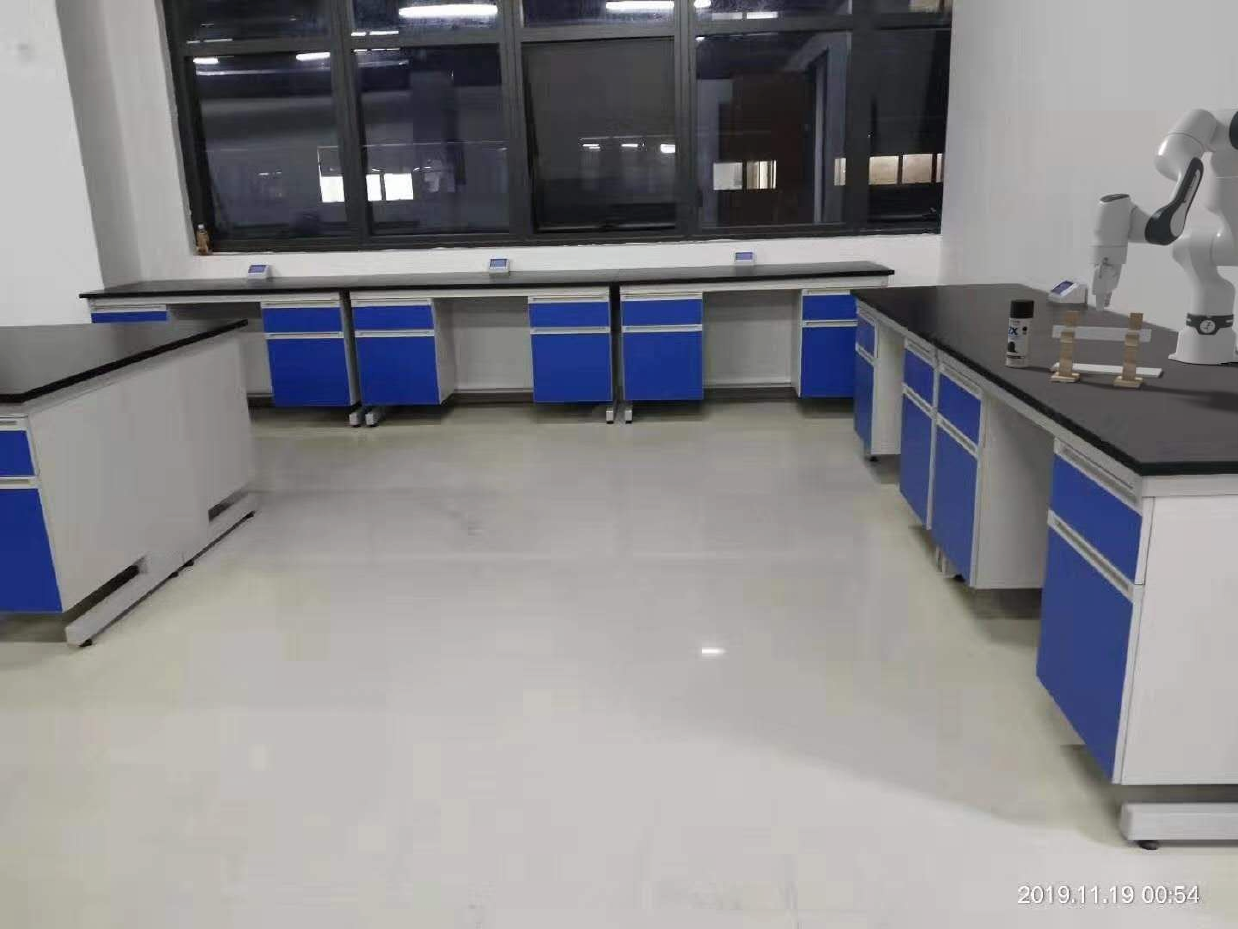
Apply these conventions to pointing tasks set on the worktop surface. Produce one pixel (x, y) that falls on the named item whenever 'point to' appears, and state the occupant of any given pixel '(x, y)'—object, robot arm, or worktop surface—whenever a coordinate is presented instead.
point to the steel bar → (1102, 333)
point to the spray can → (1020, 333)
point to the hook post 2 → (1131, 355)
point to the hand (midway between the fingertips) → (1102, 308)
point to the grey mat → (1110, 370)
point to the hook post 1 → (1067, 351)
